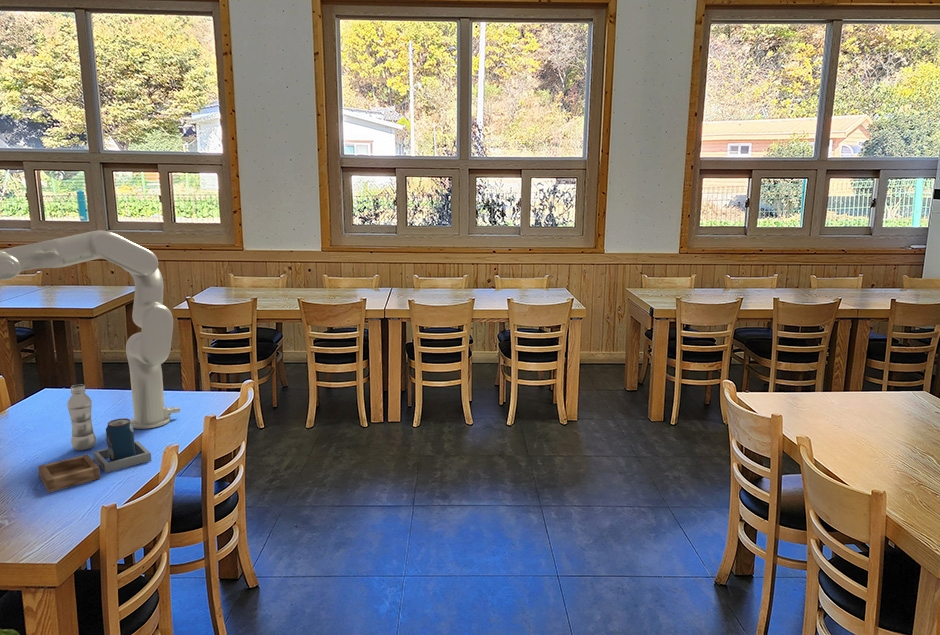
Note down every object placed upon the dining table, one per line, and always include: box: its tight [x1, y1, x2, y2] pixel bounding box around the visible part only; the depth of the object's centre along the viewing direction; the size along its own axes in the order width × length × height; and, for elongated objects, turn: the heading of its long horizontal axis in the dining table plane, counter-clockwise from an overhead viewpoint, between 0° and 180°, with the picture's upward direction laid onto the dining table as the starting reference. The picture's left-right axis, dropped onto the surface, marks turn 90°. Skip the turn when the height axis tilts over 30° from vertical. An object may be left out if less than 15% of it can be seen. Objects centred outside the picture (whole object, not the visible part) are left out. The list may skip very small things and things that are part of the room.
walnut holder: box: [37, 454, 101, 493], centre depth 167 cm, size 12×12×3 cm
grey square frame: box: [93, 440, 152, 474], centre depth 179 cm, size 12×12×2 cm
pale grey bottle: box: [66, 384, 97, 451], centre depth 185 cm, size 6×7×20 cm
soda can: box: [105, 418, 137, 462], centre depth 178 cm, size 7×7×12 cm
